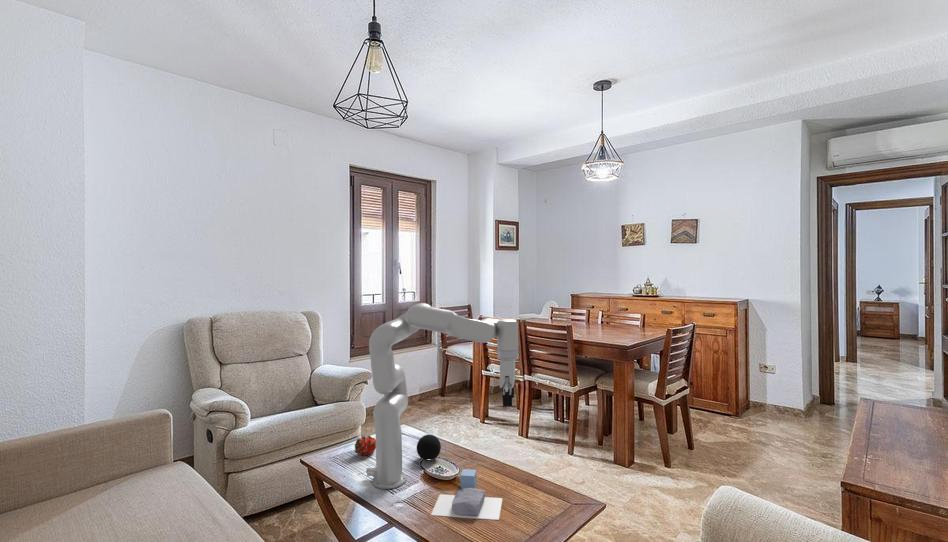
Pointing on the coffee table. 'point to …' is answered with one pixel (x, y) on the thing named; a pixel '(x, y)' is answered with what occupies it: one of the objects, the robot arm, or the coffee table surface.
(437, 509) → the letter sheet
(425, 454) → the decorative ball
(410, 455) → the coffee table surface
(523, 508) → the coffee table surface
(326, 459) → the coffee table surface
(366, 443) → the dragon fruit
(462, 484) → the blue cube
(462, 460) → the coffee table surface
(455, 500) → the stone block
